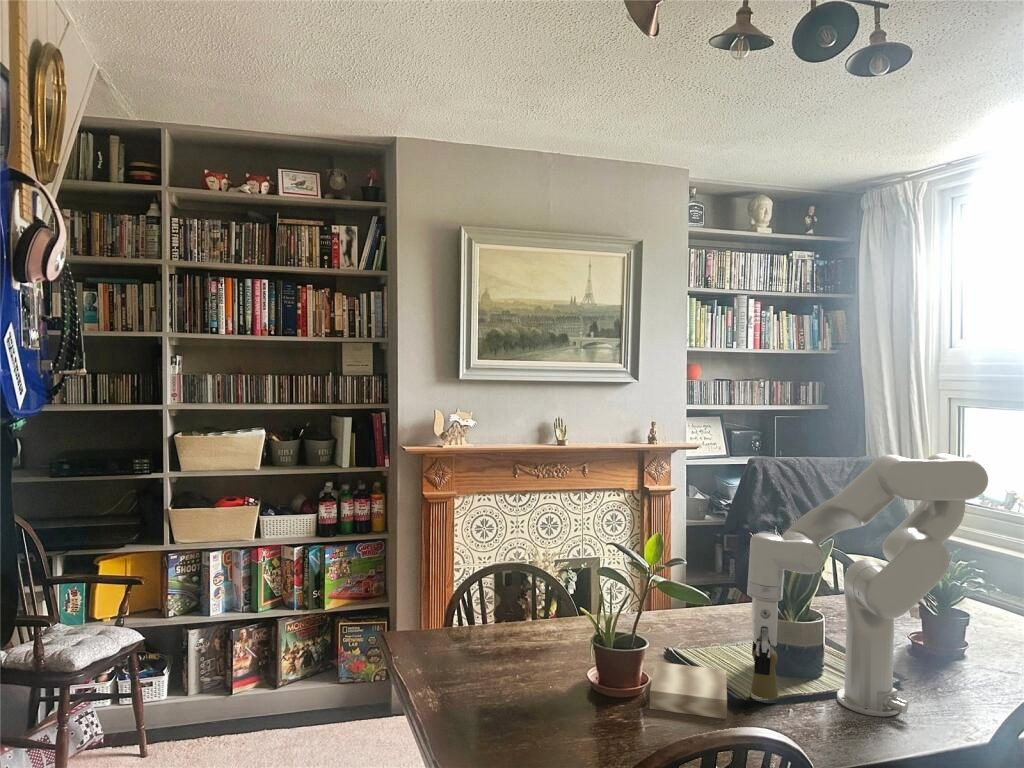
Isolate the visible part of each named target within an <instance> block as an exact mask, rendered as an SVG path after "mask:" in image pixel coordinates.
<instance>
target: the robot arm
mask: <svg viewBox="0 0 1024 768" xmlns="http://www.w3.org/2000/svg"><path fill="white" fill-rule="evenodd" d="M988 485H989V476H988V472H987V471H986V469H985V468H984V467H983V466H982V465H981V464H980V463H979V462H977V461H975V460H972V459H970V458H968V457H967V458H966V457H962V456H959V455H955V454H949V453H943V452H942V453H935V454H932V455H930V456H929V457H927V459H914V458H912V459H911V458H907V457H904V456H901V455H897V454H885V455H882V456H880V457H878V458H877V459H875V460H874V461H873V462H872V463H871V464H869V466H868V467H866V468H865V469H864V470H863V471H862V472H861V473H860V474H859V475H857V476H856V477H855V478H854V479H853V480H852V481H851V482H850V483H849V484H847V485H846V486H845V487H844V488H842V490H841V491H839V492H838V493H837V494H836V495H835V496H833V497H832V498H829V499H828V500H826V501H824V502H823V503H820V504H819V505H817V506H816V507H814V508H812V509H810V510H809V511H808V512H806V513H805V514H804V515H802V516H801V517H800V518H799V519H797V520H796V521H795V523H793V524H792V525H791V526H790V527H788V528H787V529H786V531H785V532H784V533H783V534H782V536H780V535H778V534H775V533H767V532H758V533H755V534H753V535H752V536H751V537H750V543H749V556H748V557H749V558H748V572H747V573H748V574H747V575H748V576H747V590H746V591H747V592H746V595H747V596H748V597H750V598H751V599H752V600H751V632H752V633H751V635H752V648H751V649H752V650H751V653H752V655H751V656H752V657H753V652H754V650H755V649H756V648H757V654H755V661H754V670H753V673H754V672H755V673H756V674H762V675H770V662H771V657H770V649H771V646H773V648H774V647H776V646H777V643H778V638H777V637H778V620H779V619H778V617H779V615H778V613H779V612H778V611H779V608H778V606H779V605H778V603H779V602H780V601H782V600H783V598H784V597H783V596H784V595H783V594H784V578H785V571H790V572H794V573H798V574H803V575H813V574H816V573H818V572H820V571H821V570H822V569H823V568H824V566H825V564H826V559H827V558H826V554H825V551H824V549H823V548H822V547H821V546H820V545H821V544H822V543H823V542H825V541H826V540H828V539H829V538H831V536H834V535H835V534H838V533H839V532H842V531H846V530H851V529H857V528H861V527H864V526H866V525H868V524H869V523H870V522H872V520H874V519H875V518H876V517H877V516H879V514H880V513H881V512H883V511H884V509H886V508H887V507H888V506H889V505H890V504H891V503H893V502H894V501H895V500H896V499H897V498H898V499H901V500H908V501H920V502H919V504H918V505H917V506H916V507H915V508H914V510H913V511H912V512H911V513H910V514H909V515H908V516H907V517H905V519H903V521H902V522H901V523H900V524H898V525H897V527H896V528H895V529H893V530H892V531H891V532H890V533H889V534H888V535H887V537H885V539H884V540H883V542H882V553H883V555H884V557H885V559H886V560H887V561H888V562H887V564H886V565H883V564H882V563H880V562H877V561H875V560H873V559H872V560H871V559H859V560H857V561H854V562H853V563H851V564H850V565H849V566H848V567H847V569H846V570H845V571H846V572H845V573H844V578H843V589H844V590H843V593H844V600H845V601H844V602H845V615H846V616H845V628H846V629H845V659H844V664H845V665H844V687H842V688H840V689H838V690H837V692H836V699H837V701H838V702H839V704H840V705H842V706H844V707H845V708H846V709H849V710H851V711H853V712H856V713H857V714H858V713H859V714H863V715H866V716H872V717H882V718H883V717H893V716H895V715H897V714H899V713H900V714H902V715H906V714H907V712H908V708H909V701H907V700H904V698H903V699H902V698H899V696H898V689H896V688H895V687H894V650H895V649H894V646H895V645H894V644H895V643H894V639H895V620H894V619H896V618H897V619H898V618H899V617H901V616H904V615H905V614H906V613H908V612H909V611H910V610H911V609H912V608H914V606H916V605H917V604H918V603H919V602H920V601H921V600H922V599H923V598H924V597H925V596H926V595H928V594H929V593H930V592H931V591H932V589H934V587H936V586H937V585H938V584H939V583H940V582H941V581H942V580H943V578H944V577H945V575H946V574H947V571H948V570H949V567H950V555H949V551H948V549H947V548H946V546H945V545H944V544H945V543H946V541H948V540H949V538H951V536H952V535H954V533H955V532H956V531H957V529H958V528H959V527H960V525H961V523H962V521H963V519H964V517H965V512H966V501H969V500H973V499H976V498H978V497H979V496H981V495H982V494H983V493H984V492H985V491H986V489H987V487H988ZM759 647H760V648H759Z"/></svg>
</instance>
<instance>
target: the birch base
mask: <svg viewBox="0 0 1024 768" xmlns="http://www.w3.org/2000/svg"><path fill="white" fill-rule="evenodd" d="M653 669H654V670H653V674H652V679H651V683H650V689H649V709H651V710H657V711H658V710H659V711H664V712H673V713H678V714H679V713H680V714H687V715H694V716H702V717H709V718H717V719H723V720H727V717H728V693H727V692H728V691H727V685H728V684H727V669H720V668H712V667H705V666H704V667H703V666H696V665H685V664H677V663H672V662H671V663H669V662H660V661H655V664H654V668H653Z"/></svg>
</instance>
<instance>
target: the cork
mask: <svg viewBox="0 0 1024 768" xmlns="http://www.w3.org/2000/svg"><path fill="white" fill-rule="evenodd" d="M759 648H760V647H759ZM755 654H757V648H756V649H755V650H754V652H753V656H752V659H753V661H754V662H755ZM770 657H771V662H770V675H762V674H756V673H755V672H754V671H753V677H752V683H751V688H750V689H751V690H750V693H751V692H752V693H753V694H754V695H756V696H758V697H762V698H766V699H767V698H768V699H769V700H770V699H775V698H777V696H778V697H779V693H778V685H777V683H778V682H777V676H776V665H777V662H778V654H777V652H776V651H775V650H773V649H772V648H770Z"/></svg>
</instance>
